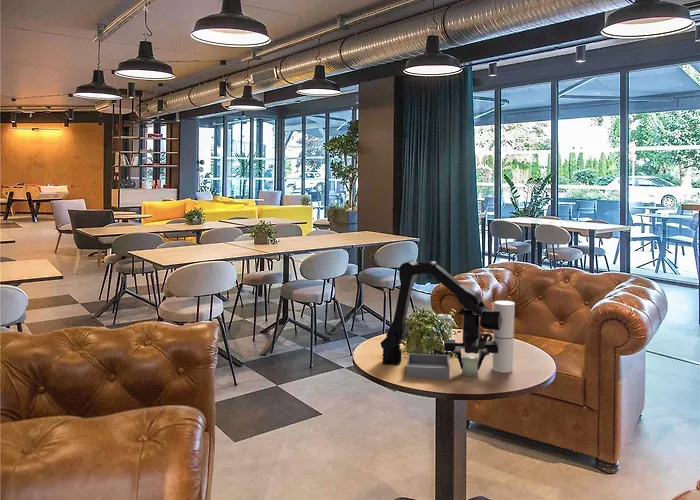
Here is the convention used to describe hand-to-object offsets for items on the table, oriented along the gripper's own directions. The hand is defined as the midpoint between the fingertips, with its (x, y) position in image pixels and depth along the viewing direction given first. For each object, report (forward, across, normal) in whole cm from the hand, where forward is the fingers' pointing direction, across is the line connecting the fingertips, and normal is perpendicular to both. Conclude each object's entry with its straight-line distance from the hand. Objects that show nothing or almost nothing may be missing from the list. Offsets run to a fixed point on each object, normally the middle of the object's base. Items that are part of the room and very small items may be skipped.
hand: (470, 369), depth 203 cm
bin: (+2, -15, 0) cm, 15 cm away
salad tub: (+2, 0, 0) cm, 2 cm away
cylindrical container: (+2, +12, +6) cm, 14 cm away
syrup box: (+2, -9, +26) cm, 28 cm away
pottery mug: (+2, +5, +34) cm, 35 cm away
